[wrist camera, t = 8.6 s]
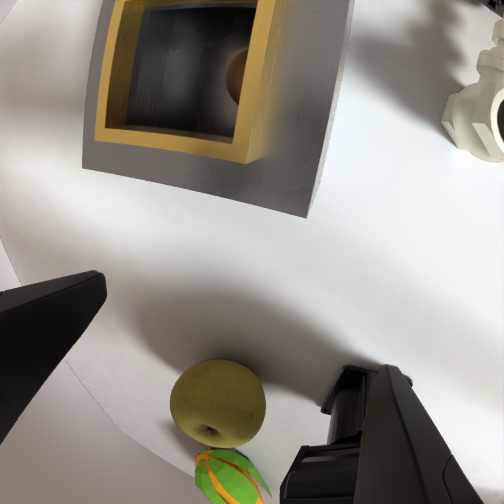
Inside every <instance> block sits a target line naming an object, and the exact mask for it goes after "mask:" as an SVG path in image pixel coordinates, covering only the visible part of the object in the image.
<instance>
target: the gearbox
mask: <svg viewBox="0 0 504 504" xmlns="http://www.w3.org/2000/svg"><path fill="white" fill-rule="evenodd" d="M353 7H354V0H103V4H102V8H101V12H100V17H99V21H98V26H97V30H96V35H95V40H94V46H93V51H92V57H91V64H90V70H89V78H88V86H87V94H86V104H85V116H84V131H83V156H82V168H84V169H89V170H95V171H100V172H106V173H111V174H116V175H121V176H126V177H131V178H136V179H141V180H146V181H151V182H156V183H161V184H165V185H170V186H175V187H179V188H184V189H188V190H193V191H197V192H202V193H206V194H210V195H215V196H219V197H223V198H227V199H232V200H236V201H240V202H244V203H248V204H252V205H256V206H260V207H264V208H268V209H272V210H276V211H280V212H284V213H287V214H291V215H295V216H299V217H302V218H307V216H308V213H309V211H310V208H311V205H312V203H313V200H314V198H315V195H316V192H317V190H318V187H319V184H320V179H321V175H322V171H323V166H324V162H325V157H326V153H327V148H328V144H329V139H330V134H331V130H332V125H333V120H334V115H335V110H336V105H337V100H338V95H339V90H340V84H341V79H342V74H343V68H344V62H345V57H346V51H347V45H348V39H349V33H350V27H351V20H352V14H353ZM246 49H249V50H248V56H247V61H246V67H245V72H244V78H243V83H242V89H241V95H240V101H239V106H238V105H237V104H236V103H235V102H234V101H233V99H232V98H231V96H230V95H229V92H228V90H227V86H226V74H227V70H228V68H229V65H230V64H231V62H232V61H233V59H234V58H235V57H236V56H237V55H238V54H240V53H241V52H243V51H244V50H246Z"/></svg>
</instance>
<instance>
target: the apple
mask: <svg viewBox="0 0 504 504" xmlns="http://www.w3.org/2000/svg"><path fill="white" fill-rule="evenodd" d="M265 410H266V400H265V394H264V391H263V388H262V385H261V383H260V381H259V379H258V377H257V376H256V375H255V374H254V373H253V372H252V371H251V370H250V369H249V368H247V367H246V366H244V365H242V364H239V363H237V362H234V361H230V360H223V359H213V360H206V361H202V362H200V363H198V364H196V365H194V366H192V367H191V368H189V369H188V370H187V371H185V372H184V373H183V374H182V375H181V376H180V378H179V379H178V380H177V382H176V383H175V385H174V387H173V389H172V392H171V397H170V411H171V415H172V417H173V419H174V421H175V423H176V425H177V426H178V427H179V428H180V429H181V430H182V431H183V432H184V433H185V434H187V435H188V436H190V437H191V438H193V439H195V440H196V441H198V442H201V443H203V444H206V445H209V446H213V447H219V448H232V447H237V446H240V445H243V444H245V443H247V442H248V441H250V440H251V439H252V438H253V437H254V436H255V435H256V434H257V432H258V431H259V430H260V428H261V426H262V423H263V420H264V417H265Z"/></svg>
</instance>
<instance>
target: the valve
mask: <svg viewBox="0 0 504 504" xmlns="http://www.w3.org/2000/svg"><path fill="white" fill-rule="evenodd" d="M488 8H489V9H490V10H492V11H493V12H495V13H496V14H497V15H499V16H500V17H502V18H503V20H498V21H497V22H496V23H495V24H494V30H493V36H492V41H493V42H494V43H495V44H496V45H497V47H493V48H492V49H490V50H483V51H481V52H480V53H479V57H478V62H477V66H476V69H477V71H478V72H479V74H480V79H479V82H478V83H474V84H471V85H469V86H467V87H466V88H464V89H463V90H462V91H461V92H460V93H454V94H450V95H449V97H448V100H447V103H446V107H445V110H444V113H443V116H442V119H441V123H442V125H443V126H444V128H445V129H446V131H447V132H448V134H449V135H450V137H451V138H452V140H453V142H454V143H455V145H456V146H457V148H458V149H462V150H466V151H469V152H470V153H471V154H472V155H474V156H475V157H477V158H479V159H481V160H483V161H487V162H494V163H499V162H504V0H488Z"/></svg>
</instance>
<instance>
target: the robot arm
mask: <svg viewBox="0 0 504 504" xmlns="http://www.w3.org/2000/svg"><path fill="white" fill-rule="evenodd" d="M106 298H107V288H106V279H105V276H104V274H103V273H101V272H98V271H96V270H92V271H87V272H83V273H78V274H74V275H69V276H65V277H61V278H56V279H52V280H48V281H43V282H39V283H35V284H31V285H26V286H22V287H18V288H14V289H10V290H6V291H4V292H3V291H1V292H0V445H1V443H2V442H3V440H4V439H5V437H6V436H7V434H8V433H9V431H10V430H11V428H12V427H13V425H14V424H15V423H16V421H17V420H18V417H20V415H21V414H22V412H23V411H24V409H25V408H26V407H27V405H28V404H29V403H30V401H31V400H32V398H33V397H34V396H35V394H36V393H37V392H38V390H39V389H40V388H41V386H42V385H43V383H44V382H45V381H46V380H47V378H48V377H49V376H50V374H51V373H52V372H53V370H54V369H55V368H56V367H57V365H58V364H59V363H60V362H61V360H62V359H63V358H64V357H65V355H66V354H67V353H68V352H69V350H70V349H71V348H72V347H73V345H74V344H75V343H76V342H77V340H78V339H79V338H80V337H81V335H82V334H83V333H84V331H85V330H86V329H87V327H88V326H89V324H90V323H91V321H92V320H93V318H94V317H95V315H96V314H97V312H98V311H99V309H100V308H101V306H102V305H103V304H104V302H105V301H106ZM347 371H350V372H347ZM412 386H413V384H412V380H411V379H409V378H405V377H404V376H403V374H402V373H401V371H400V370H399V368H398V367H397V366H393V365H389V364H385V365H383V366H382V368H381V369H380V371H379V372H375V371H371V370H367V369H362V368H358V367H354V366H349V365H348V366H345V367H343V368H342V370H341V372H340V374H339V376H338V378H337V380H336V382H335V383H334V385H333V387H332V389H331V391H330V392H329V394H328V396H327V398H326V399H325V401H324V403H323V405H322V406H321V412H322V413H324V414H328V415H331V420H330V427H329V433H328V440H327V445H319V446H309V445H306V446H301V448H300V450H299V452H298V454H297V456H296V458H295V460H294V462H293V464H292V465H291V467H290V469H289V471H288V473H287V475H286V477H285V478H284V480H283V482H282V484H281V486H280V504H484V502H483V501H482V500H481V498H480V497H479V495H478V494H477V492H476V491H475V489H474V488H473V486H472V485H471V483H470V482H469V480H468V479H467V477H466V476H465V474H464V473H463V471H462V469H461V468H460V466H459V464H458V463H457V461H456V459H455V457H454V456H453V454H451V451H450V449H449V447H448V446H447V444H446V442H445V441H444V439H443V437H442V436H441V434H440V432H439V431H438V429H437V427H436V426H435V424H434V423H433V421H432V419H431V418H430V416H429V415H428V413H427V411H426V410H425V408H424V407H423V405H422V403H421V402H420V400H419V399H418V397H417V396H416V394H415V392H414V391H413V389H412V388H411V387H412Z"/></svg>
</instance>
